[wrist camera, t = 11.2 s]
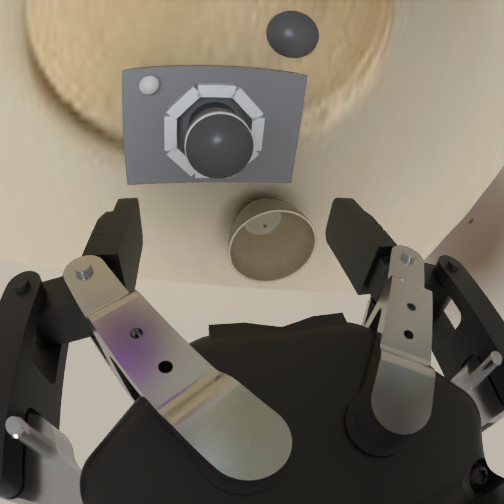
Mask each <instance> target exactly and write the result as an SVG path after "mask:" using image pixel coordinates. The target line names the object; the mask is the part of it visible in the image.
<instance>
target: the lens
mask: <svg viewBox="0 0 504 504" xmlns="http://www.w3.org/2000/svg"><path fill="white" fill-rule="evenodd" d="M253 146H254V141H253V136H252V133H251V130H250V129H249V127H248V126H247V124H246V123H245V122H244V121H243V120H242V119H241V118H240V117H239V116H238V115H237V114H236V112H235V111H234V110H233V109H232V108H231V107H230V106H228V105H226V104H224V103H221V102H208V103H205V104H203V105H201V106H199V107H198V108H197V109H196V110H195V111H194V112H193V113H192V115H191V116H190V119H189V122H188V130H187V134H186V137H185V144H184V148H185V154H186V157H187V160H188V161H189V163H190V164H191V166H192V167H193V168H194V169H195V170H196V171H197V172H198V173H200V174H201V175H203V176H206V177H209V178H214V179H222V178H227V177H231V176H233V175H235V174H237V173H239V172H240V171H241V170H242V169H243V168H244V167H245V166H246V165H247V164H248V162H249V161H250V159H251V156H252V153H253Z"/></svg>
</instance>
